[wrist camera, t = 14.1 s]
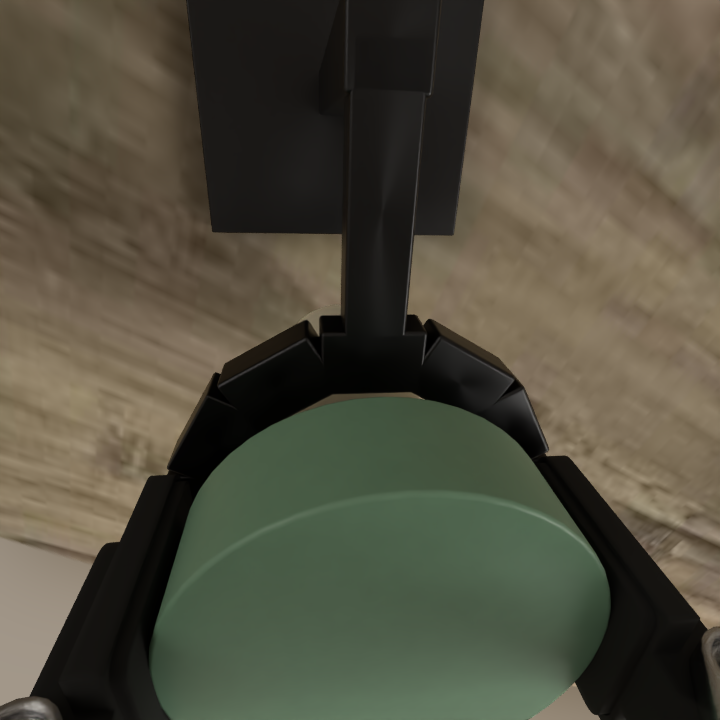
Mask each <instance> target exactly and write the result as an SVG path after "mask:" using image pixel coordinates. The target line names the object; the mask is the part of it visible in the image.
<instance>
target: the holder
mask: <svg viewBox="0 0 720 720" xmlns="http://www.w3.org/2000/svg"><path fill="white" fill-rule="evenodd" d="M186 3H187V12H188V21H189V30H190V38H191V47H192V56H193V65H194V74H195V83H196V92H197V101H198V109H199V118H200V127H201V136H202V145H203V154H204V163H205V171H206V180H207V189H208V198H209V207H210V216H211V225H212V231H213V232H224V233H300V234H342V264H341V315H322V316H320V318H319V336H318V334H317V333H316V331H315V329H314V328H313V326H312V325H311V323H310V322H309V321H308V320H303V321H302V322H300V323H298V324H296V325H294V326H292V327H291V328H289V329H287V330H285V331H283V332H282V333H280V334H278V335H276V336H274V337H272V338H271V339H269V340H267V341H265V342H263V343H261V344H260V345H258V346H256V347H254V348H252V349H251V350H249V351H247V352H245V353H243V354H241V355H240V356H238V357H236V358H234V359H232V360H230V361H229V362H227V363H225V364H224V366H223V369H222V372H221V374H219V373H216V372H215V373H214V374H213V376H212V378H211V380H210V382H209V384H208V385H207V387H206V389H205V391H204V393H203V395H202V396H201V398H200V400H199V402H198V404H197V406H196V407H195V409H194V411H193V413H192V415H191V417H190V419H189V420H188V422H187V424H186V426H185V428H184V430H183V431H182V433H181V435H180V437H179V439H178V441H177V443H176V446H175V448H174V451H173V453H172V456H171V458H170V461H169V463H168V466H167V469H168V470H169V472H168V474H167V475H179V476H180V479H181V481H188V482H189V484H190V489H191V495H192V500H193V502H194V500H195V498H196V496H197V494H198V492H199V490H200V488H201V487H202V486H203V484H204V483H205V481H206V480H207V479H208V477H209V476H210V474H211V473H212V472H213V471H214V470H215V469H216V468H217V467H218V466H219V465H220V464H221V462H222V461H223V460H224V459H225V458H226V457H227V456H228V455H229V454H230V453H232V452H233V451H234V450H236V449H237V448H238V447H239V446H241V445H242V444H243V443H244V442H246V441H247V440H248V439H250V438H251V437H253V436H254V435H256V434H258V433H259V432H261V431H263V430H264V429H266V428H268V427H269V426H271V425H273V424H275V423H277V422H280V421H282V420H284V419H286V418H288V417H290V416H292V415H294V414H296V413H298V412H300V411H302V410H304V409H306V408H308V407H310V406H312V405H313V404H315V403H317V402H319V401H321V400H323V399H325V398H327V397H329V396H331V395H334V394H369V393H404V392H411V393H413V394H415V395H417V396H419V397H421V398H423V399H425V400H430V401H436V402H440V403H443V404H447V405H451V406H454V407H458V408H461V409H463V410H466V411H468V412H470V413H473V414H475V415H477V416H480V417H482V418H484V419H486V420H487V421H489V422H490V423H492V424H494V425H495V426H497V427H499V428H500V429H502V430H503V431H504V432H505V433H507V434H508V435H509V436H510V437H511V438H512V439H514V440H515V441H516V442H517V443H518V444H519V445H520V446H521V448H522V449H523V450H524V451H525V452H526V454H527V455H528V456H529V457H530V459H531V460H532V461H533V463H538V460H539V459H540V458H541V457H545V456H546V454H545V453H546V452H548V451H549V447H548V444H547V442H546V439H545V437H544V434H543V432H542V430H541V427H540V425H539V422H538V420H537V417H536V415H535V412H534V410H533V407H532V405H531V403H530V400H529V398H528V395H527V393H526V390H525V388H524V386H523V385H522V384H521V383H520V382H519V380H518V379H517V378H516V377H515V376H514V375H513V373H512V372H511V371H510V370H509V369H508V368H507V367H506V366H505V365H504V364H503V362H502V361H501V360H500V359H499V358H498V357H496V356H495V355H493V354H491V353H489V352H488V351H486V350H484V349H482V348H481V347H479V346H477V345H476V344H474V343H472V342H470V341H469V340H467V339H465V338H464V337H462V336H460V335H458V334H457V333H455V332H453V331H451V330H450V329H448V328H446V327H445V326H443V325H441V324H439V323H438V322H436V321H434V320H432V319H428V320H427V321H426V322H425V324H424V325H422V323H421V321H420V320H419V318H418V316H417V315H407V309H408V298H409V287H410V275H411V264H412V253H413V242H414V235H451V236H452V235H454V229H455V221H456V213H457V206H458V198H459V190H460V182H461V175H462V167H463V159H464V152H465V144H466V136H467V128H468V121H469V113H470V105H471V97H472V90H473V82H474V74H475V66H476V59H477V51H478V43H479V36H480V28H481V20H482V12H483V5H484V0H186Z"/></svg>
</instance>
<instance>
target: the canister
mask: <svg viewBox="0 0 720 720" xmlns="http://www.w3.org/2000/svg"><path fill="white" fill-rule="evenodd" d="M322 315H341V304H338V305H330V306H325V307H322V308H319V309H317V310H315V311H313V312H311V313H309V314H308V315H306V316H305V317H303V318H302V319H301V320H300V321H299V322H298V323H300V322H302V321H303V320H308V321H309V322H310V323H311V325H312V326H313V328H314V329H315V331H316V333H317V334H318V336H319V318H320V316H322ZM298 323H297V324H298ZM610 612H611V598H610V588H609V584H608V580H607V577H606V573H605V570H604V568H603V566H602V564H601V562H600V560H599V558H598V556H597V555H596V553H595V551H594V550H593V548H592V547H591V546H590V544H589V543H588V541H587V540H586V538H585V537H584V535H583V534H582V532H581V531H580V530H579V528H578V527H577V525H576V524H575V522H574V521H573V519H572V518H571V517H570V515H569V514H568V512H567V511H566V509H565V508H564V506H563V505H562V503H561V502H560V501H559V499H558V498H557V496H556V495H555V493H554V492H553V490H552V489H551V488H550V486H549V485H548V483H547V482H546V480H545V479H544V477H543V476H542V475H541V473H540V472H539V470H538V469H537V467H536V466H535V464H534V463H533V461H532V460H531V459H530V457H529V456H528V455H527V454H526V452H525V451H524V450H523V449H522V448H521V446H520V445H519V444H518V443H517V442H516V441H515V440H514V439H512V438H511V437H510V436H509V435H508V434H507V433H505V432H504V431H503V430H502V429H500V428H499V427H497V426H495V425H494V424H492V423H490V422H489V421H487V420H486V419H484V418H482V417H480V416H477V415H475V414H473V413H470V412H468V411H466V410H463V409H461V408H458V407H454V406H451V405H447V404H443V403H440V402H436V401H430V400H423V399H420V398H419V396H417V395H415V394H413V393H411V392H404V393H369V394H334V395H331V396H329V397H327V398H325V399H323V400H321V401H319V402H317V403H315V404H313V405H312V406H310V407H308V408H306V409H304V410H302V411H300V412H298V413H296V414H294V415H292V416H290V417H288V418H286V419H284V420H282V421H280V422H277V423H275V424H273V425H271V426H269V427H268V428H266V429H264V430H263V431H261V432H259V433H258V434H256V435H254V436H253V437H251V438H250V439H248V440H247V441H246V442H244V443H243V444H242V445H241V446H239V447H238V448H237V449H236V450H234V451H233V452H232V453H230V454H229V455H228V456H227V457H226V458H225V459H224V460H223V461H222V462H221V464H220V465H219V466H218V467H217V468H216V469H215V470H214V471H213V472H212V473H211V474H210V476H209V477H208V479H207V480H206V481H205V483H204V484H203V486H202V487H201V488H200V490H199V492H198V494H197V496H196V498H195V500H194V502H193V504H192V506H191V508H190V510H189V514H188V517H187V520H186V524H185V527H184V530H183V534H182V537H181V540H180V544H179V547H178V550H177V554H176V557H175V560H174V564H173V567H172V570H171V574H170V577H169V580H168V584H167V587H166V590H165V594H164V597H163V600H162V604H161V607H160V610H159V614H158V617H157V620H156V624H155V627H154V631H153V634H152V638H151V641H150V645H149V671H150V675H151V678H152V682H153V685H154V689H155V692H156V695H157V698H158V700H159V703H160V706H161V708H162V709H163V711H164V712H165V713H166V715H167V716H168V718H169V719H170V720H528V719H530V718H532V717H533V716H535V715H536V714H538V713H539V712H540V711H542V710H543V709H545V708H546V707H547V706H549V705H550V704H551V703H553V702H554V701H555V700H556V699H557V698H558V697H559V696H561V695H562V694H563V693H564V692H565V691H566V690H567V689H568V688H569V687H570V686H571V685H572V684H573V683H574V682H575V681H576V680H577V679H578V678H579V677H580V676H581V675H582V673H583V672H584V671H585V669H586V668H587V667H588V665H589V664H590V663H591V661H592V660H593V658H594V656H595V654H596V652H597V650H598V648H599V646H600V644H601V642H602V640H603V637H604V635H605V633H606V630H607V628H608V623H609V618H610Z"/></svg>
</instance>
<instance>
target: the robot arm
mask: <svg viewBox="0 0 720 720" xmlns="http://www.w3.org/2000/svg"><path fill="white" fill-rule="evenodd" d="M534 464H535V466H536V467H537V469H538V470H539V472H540V473H541V475H542V476H543V477H544V479H545V480H546V482H547V483H548V485H549V486H550V488H551V489H552V490H553V492H554V493H555V495H556V496H557V498H558V499H559V501H560V502H561V503H562V505H563V506H564V508H565V509H566V511H567V512H568V514H569V515H570V517H571V518H572V519H573V521H574V522H575V524H576V525H577V527H578V528H579V530H580V531H581V532H582V534H583V535H584V537H585V538H586V540H587V541H588V543H589V544H590V546H591V547H592V548H593V550H594V551H595V553H596V555H597V556H598V558H599V560H600V562H601V564H602V566H603V568H604V570H605V573H606V577H607V580H608V584H609V588H610V598H611V612H610V618H609V623H608V628H607V630H606V633H605V635H604V637H603V640H602V642H601V644H600V646H599V648H598V650H597V652H596V654H595V656H594V658H593V660H592V661H591V663H590V664H589V665H588V667H587V668H586V669H585V671H584V672H583V673H582V675H581V676H580V677H579V678H578V679H577V680H576V681H575V683H576V685H577V687H578V689H579V691H580V693H581V695H582V698H583V700H584V701H585V704H586V705H587V707H588V708H589V710H590V711H591V712H592V713H593V714H594V715H598V716H599V718H600V720H720V627H713V628H711V629H709V630H708V629H707V628H706V627H705V626H704V624H703V623H702V622H701V621H700V617H699V616H698V615H697V613H696V612H695V611H694V610H693V609H692V607H691V606H690V605H689V604H688V602H687V601H686V600H685V599H684V598H683V596H682V595H681V594H680V593H679V591H678V590H677V589H676V588H675V586H674V585H673V584H672V583H671V582H670V580H669V579H668V578H667V577H666V575H665V574H664V573H663V572H662V570H661V569H660V568H659V567H658V566H657V564H656V563H655V562H654V561H653V559H652V558H651V557H650V556H649V555H648V553H647V552H646V551H645V550H644V548H643V547H642V546H641V545H640V543H639V542H638V541H637V540H636V539H635V537H634V536H633V535H632V534H631V532H630V531H629V530H628V529H627V528H626V526H625V525H624V524H623V523H622V521H621V520H620V519H619V518H618V516H617V515H616V514H615V513H614V512H613V510H612V509H611V508H610V507H609V505H608V504H607V503H606V502H605V500H604V499H603V498H602V497H601V496H600V494H599V493H598V492H597V491H596V489H595V488H594V487H593V486H592V485H591V483H590V482H589V481H588V480H587V478H586V477H585V476H584V475H583V473H582V472H581V471H580V470H579V469H578V467H577V466H576V465H575V464H574V462H573V461H572V460H571V459H570V458H569V457H567V456H545V457H541V458H540V459H539V460H538V463H534ZM192 504H193V500H192V495H191V489H190V484H189V482H188V481H181V479H180V476H179V475H158V476H150V477H149V478H148V480H147V482H146V484H145V486H144V488H143V491H142V493H141V495H140V497H139V500H138V502H137V504H136V506H135V509H134V511H133V513H132V515H131V518H130V520H129V522H128V525H127V527H126V529H125V531H124V534H123V536H122V538H121V540H120V542H113V543H106V544H105V545H104V546H103V547H102V548H101V550H100V552H99V553H98V555H97V557H96V559H95V561H94V563H93V565H92V568H91V570H90V572H89V574H88V576H87V578H86V580H85V582H84V584H83V586H82V588H81V591H80V592H79V594H78V597H77V599H76V601H75V603H74V605H73V607H72V609H71V611H70V613H69V615H68V617H67V619H66V621H65V624H64V626H63V628H62V630H61V632H60V634H59V636H58V638H57V641H56V642H55V645H54V647H53V649H52V651H51V653H50V655H49V657H48V659H47V661H46V663H45V665H44V667H43V669H42V671H41V673H40V676H39V678H38V680H37V682H36V684H35V686H34V688H33V690H32V692H31V694H30V696H29V697H25V698H19V699H16V700H13V701H11V702H9V703H6V704H4V705H2V706H0V720H170V719H169V718H168V716H167V715H166V713H165V712H164V711H163V709H162V708H161V706H160V703H159V700H158V698H157V695H156V692H155V689H154V685H153V682H152V678H151V675H150V671H149V645H150V641H151V638H152V634H153V631H154V627H155V624H156V620H157V617H158V614H159V610H160V607H161V604H162V600H163V597H164V594H165V590H166V587H167V584H168V580H169V577H170V574H171V570H172V567H173V564H174V560H175V557H176V554H177V550H178V547H179V544H180V540H181V537H182V534H183V530H184V527H185V524H186V520H187V517H188V514H189V510H190V508H191V506H192Z"/></svg>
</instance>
